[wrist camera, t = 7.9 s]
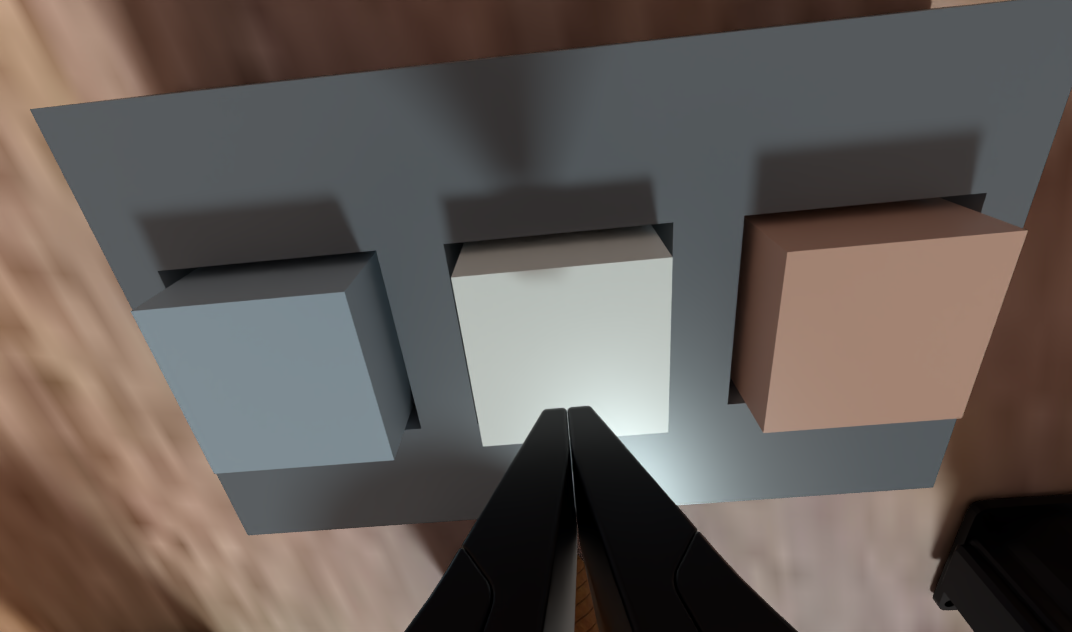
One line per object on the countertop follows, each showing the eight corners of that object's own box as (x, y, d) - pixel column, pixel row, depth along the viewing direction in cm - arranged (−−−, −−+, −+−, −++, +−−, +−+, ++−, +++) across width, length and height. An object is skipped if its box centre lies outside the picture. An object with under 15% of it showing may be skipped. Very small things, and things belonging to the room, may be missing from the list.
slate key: (393, 229, 14) (344, 291, 10) (425, 367, 16) (394, 459, 12) (234, 244, 14) (130, 311, 10) (285, 379, 16) (214, 473, 12)
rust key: (895, 181, 13) (1028, 230, 10) (862, 331, 15) (961, 418, 12) (720, 198, 13) (787, 252, 10) (710, 344, 15) (763, 433, 12)
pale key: (637, 203, 14) (672, 257, 10) (638, 345, 16) (668, 432, 12) (472, 218, 14) (451, 277, 10) (494, 357, 16) (482, 446, 12)
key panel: (932, 8, 13) (1105, -9, 9) (847, 393, 19) (933, 487, 15) (174, 92, 14) (30, 109, 10) (306, 435, 20) (247, 535, 16)
